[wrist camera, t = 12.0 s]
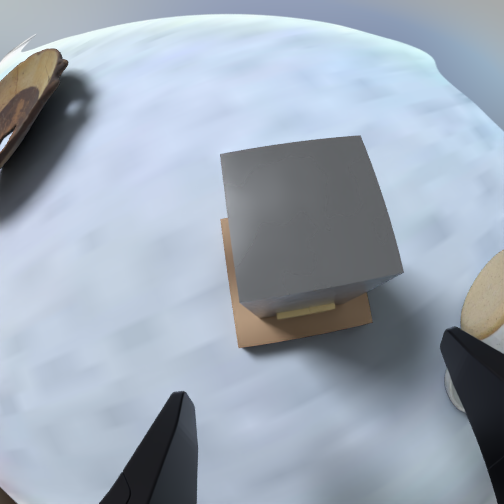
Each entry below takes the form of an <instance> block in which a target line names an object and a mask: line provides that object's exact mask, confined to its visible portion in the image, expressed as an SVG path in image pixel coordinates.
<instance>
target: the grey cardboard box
mask: <svg viewBox="0 0 504 504" xmlns="http://www.w3.org/2000/svg"><path fill="white" fill-rule="evenodd" d="M220 157H221V166H222V174H223V182H224V191H225V199H226V206H227V214H228V222H229V230H230V237H231V245H232V253H233V260H234V267H235V275H236V282H237V289H238V296H239V303H240V304H242V305H243V306H244V307H245V308H247V309H248V310H249V311H251V312H252V313H253V314H254V315H256V316H257V317H258V318H266V317H273V316H277V320H283V319H289V318H294V317H300V316H306V315H311V314H316V313H322V312H327V311H331V310H333V309H335V305H339V304H344V303H346V302H348V301H350V300H352V299H354V298H356V297H358V296H360V295H362V294H364V293H366V292H368V291H370V290H372V289H374V288H376V287H378V286H379V285H381V284H383V283H385V282H387V281H389V280H391V279H393V278H394V277H396V276H398V275H400V274H402V273H404V271H403V267H402V262H401V258H400V254H399V251H398V247H397V243H396V239H395V236H394V232H393V228H392V225H391V222H390V218H389V215H388V212H387V208H386V205H385V202H384V199H383V196H382V193H381V190H380V187H379V184H378V181H377V178H376V175H375V172H374V170H373V167H372V164H371V161H370V159H369V156H368V154H367V151H366V148H365V146H364V143H363V141H362V138H361V136H347V137H336V138H326V139H317V140H308V141H300V142H292V143H285V144H278V145H271V146H265V147H258V148H252V149H246V150H241V151H235V152H230V153H224V154H220Z"/></svg>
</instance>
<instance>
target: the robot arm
mask: <svg viewBox="0 0 504 504" xmlns="http://www.w3.org/2000/svg"><path fill="white" fill-rule="evenodd" d="M440 349H441V353H442V355H443V358H444V361H445V363H446V366H447V369H448V372H449V375H450V377H451V380H452V383H453V385H454V388H455V390H456V392H457V394H458V396H459V399H460V401H461V403H462V405H463V408H464V410H465V412H466V415H467V417H468V419H469V422H470V424H471V426H472V429H473V431H474V434H475V436H476V439H477V442H478V444H479V447H480V450H481V452H482V455H483V458H484V461H485V464H486V467H487V469H488V473H489V476H490V479H491V482H492V486H493V489H494V492H495V496H496V499H497V503H498V504H504V354H503V353H501V352H500V351H498V350H496V349H495V348H493V347H491V346H489V345H488V344H486V343H484V342H483V341H481V340H479V339H477V338H476V337H474V336H472V335H470V334H469V333H467V332H465V331H463V330H462V329H460V328H458V327H455V326H454V327H451V328H448V329H446V330H445V332H444V335H443V338H442V341H441V344H440ZM197 467H198V441H197V430H196V417H195V407H194V404H193V402H192V401H191V399H190V398H189V396H188V395H187V393H186V392H185V391H178V392H173V393H172V394H171V396H170V397H169V399H168V400H167V402H166V404H165V405H164V407H163V408H162V410H161V412H160V413H159V415H158V416H157V418H156V419H155V421H154V423H153V424H152V426H151V427H150V429H149V430H148V432H147V434H146V435H145V437H144V438H143V440H142V441H141V443H140V445H139V446H138V448H137V449H136V451H135V452H134V454H133V456H132V457H131V459H130V460H129V462H128V463H127V465H126V466H125V468H124V470H123V472H122V473H121V474H120V476H119V477H118V479H117V480H116V482H115V483H114V485H113V486H112V488H111V489H110V490H109V492H108V493H107V494H106V495H105V497H104V498H103V499H102V500H101V502H100V503H99V504H197Z"/></svg>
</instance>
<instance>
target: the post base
mask: <svg viewBox="0 0 504 504" xmlns="http://www.w3.org/2000/svg"><path fill="white" fill-rule="evenodd" d="M220 220H221V228H222V235H223V243H224V250H225V258H226V265H227V273H228V280H229V287H230V294H231V301H232V308H233V314H234V321H235V328H236V334H237V341H238V347H239V348H243V347H250V346H257V345H263V344H269V343H275V342H281V341H287V340H293V339H298V338H304V337H309V336H314V335H319V334H324V333H329V332H333V331H338V330H343V329H347V328H352V327H356V326H360V325H364V324H369V323H373V322H372V316H371V311H370V306H369V301H368V296H367V292H366V293H364V294H362V295H360V296H358V297H356V298H354V299H352V300H350V301H348V302H346V303H344V304H339V305H335V309H333V310H331V311H327V312H322V313H316V314H311V315H306V316H300V317H294V318H289V319H283V320H277V316H273V317H266V318H258V317H257V316H256V315H254V314H253V313H252V312H251V311H249V310H248V309H247V308H245V307H244V306H243V305H242V304H240V303H239V296H238V289H237V282H236V275H235V267H234V260H233V253H232V245H231V237H230V230H229V222H228V218H224V219H220Z"/></svg>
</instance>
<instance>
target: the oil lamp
mask: <svg viewBox="0 0 504 504" xmlns="http://www.w3.org/2000/svg"><path fill="white" fill-rule="evenodd" d="M67 66H68V61H67V60H65V59H62V55H61V53H60V52H59V51H58V50H57V49H45V50H42V51H40V52H37V53H35V54H33V55H31V56H30V57H28V58H27V59H26V60H25V61H24V62H21V63H20V64H19V65H17V66H16V67H15V68H14V69H13V70H12V71H11V72H10V73H8V75H6V76H5V77H4V78H3V79H2V80H1V82H0V142H1V140H3V138H4V137H5V136H6V135H7V134H8V133H9V132H10V131H12V130H13V129H14V128H15V129H14V131H13V133H12V135H11V136H10V138H9V141H8V142H7V144H6V145H5V147H4V148H3V149H2V151H1V152H0V169H1V168H2V166H3V165H4V164H5V163H6V162H7V160H8V159H9V158H10V157H11V156H12V154H13V153H14V152H15V150H16V149H17V148H18V146H19V145H20V143H21V142H22V140H23V139H24V137H25V136H26V134H27V132H28V131H29V129H30V128H31V126H32V124H33V123H34V121H35V119H36V118H37V116H38V115H39V113H40V111H41V110H42V108H43V107H44V105H45V103H46V102H47V100H48V99H49V98H50V96H51V95H52V94H53V93H54V91H55V90H56V89H57V87H58V86H59V84H60V80H59V77H60V75H61V74H62V72H63V71H64V70H65V69H66V67H67Z"/></svg>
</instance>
